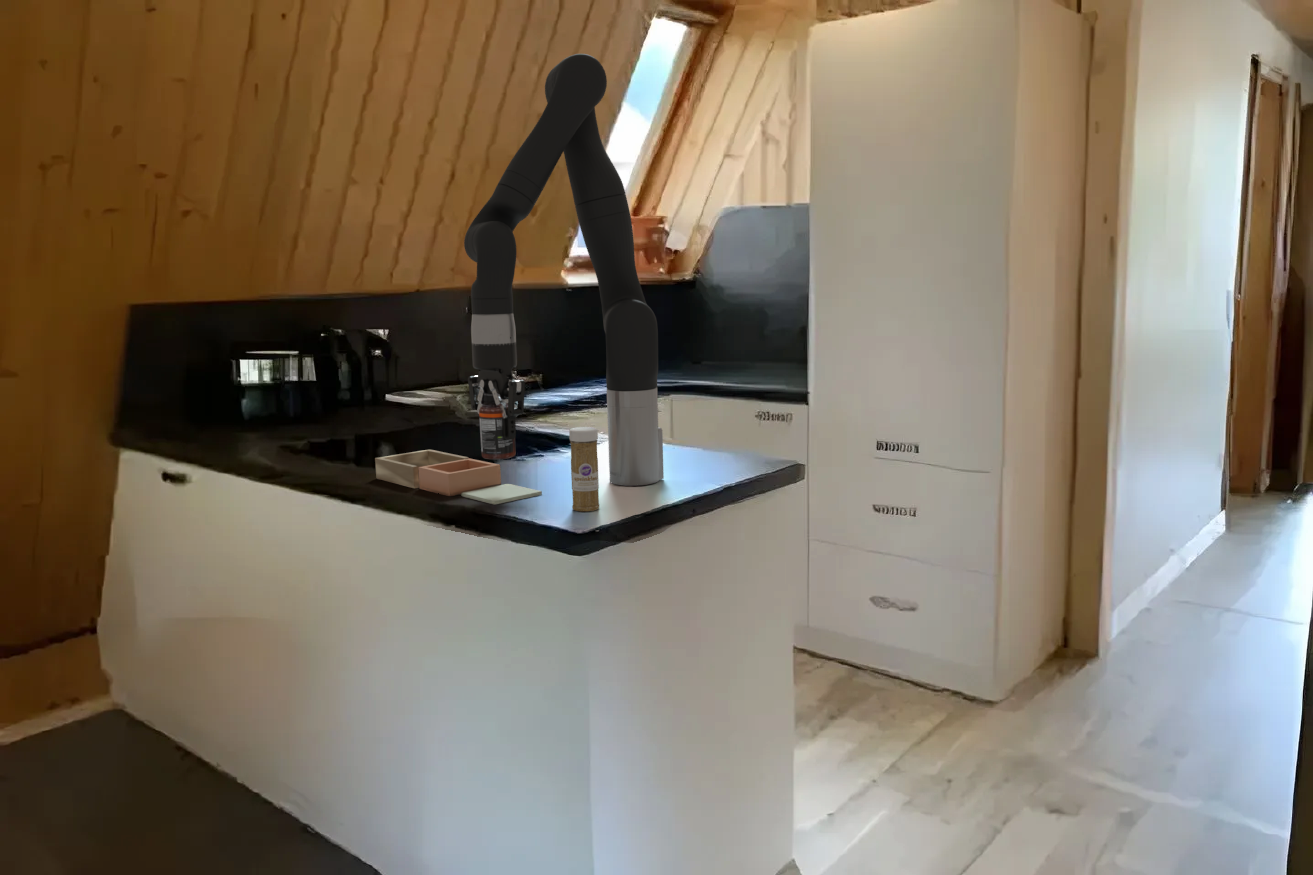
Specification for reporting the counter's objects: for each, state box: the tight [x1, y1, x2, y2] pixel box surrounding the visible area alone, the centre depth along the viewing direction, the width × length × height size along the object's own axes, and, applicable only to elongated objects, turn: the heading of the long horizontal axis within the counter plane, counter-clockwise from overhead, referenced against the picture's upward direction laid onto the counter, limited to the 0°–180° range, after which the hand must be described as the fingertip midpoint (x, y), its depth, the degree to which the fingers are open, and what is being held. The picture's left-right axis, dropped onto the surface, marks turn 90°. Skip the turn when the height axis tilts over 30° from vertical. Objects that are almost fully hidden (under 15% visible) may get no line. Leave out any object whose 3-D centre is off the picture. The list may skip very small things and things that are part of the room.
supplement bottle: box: [478, 393, 517, 461], centre depth 177 cm, size 6×6×11 cm
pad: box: [460, 483, 543, 505], centre depth 179 cm, size 10×10×1 cm
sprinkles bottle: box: [568, 426, 600, 513], centre depth 166 cm, size 5×5×13 cm
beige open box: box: [374, 449, 469, 489], centre depth 195 cm, size 12×14×4 cm
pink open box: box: [418, 458, 502, 497], centre depth 186 cm, size 11×10×4 cm
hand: (498, 436), depth 177 cm, fingers closed on supplement bottle, 6 cm apart
